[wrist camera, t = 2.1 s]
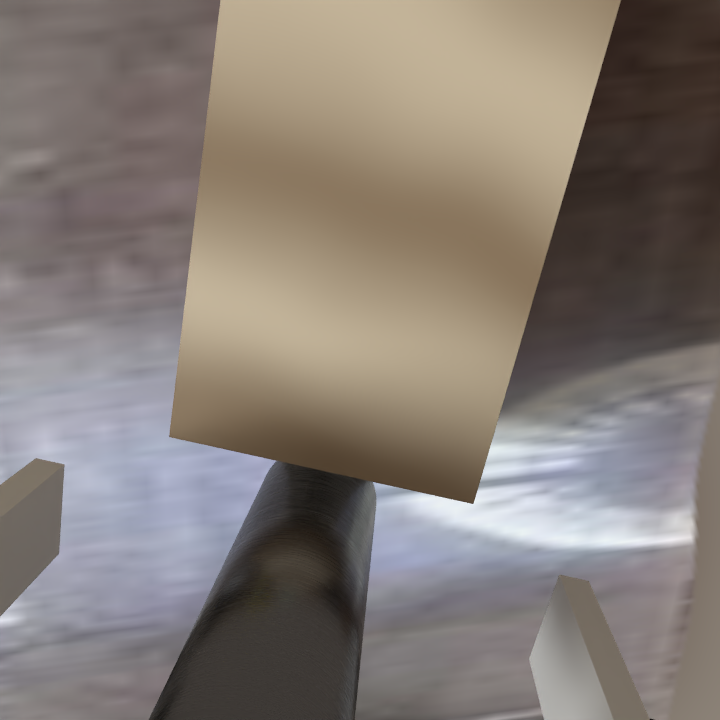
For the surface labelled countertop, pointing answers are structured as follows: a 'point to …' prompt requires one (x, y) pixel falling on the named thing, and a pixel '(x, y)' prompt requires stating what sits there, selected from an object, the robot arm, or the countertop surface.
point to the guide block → (377, 226)
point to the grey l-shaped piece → (283, 608)
